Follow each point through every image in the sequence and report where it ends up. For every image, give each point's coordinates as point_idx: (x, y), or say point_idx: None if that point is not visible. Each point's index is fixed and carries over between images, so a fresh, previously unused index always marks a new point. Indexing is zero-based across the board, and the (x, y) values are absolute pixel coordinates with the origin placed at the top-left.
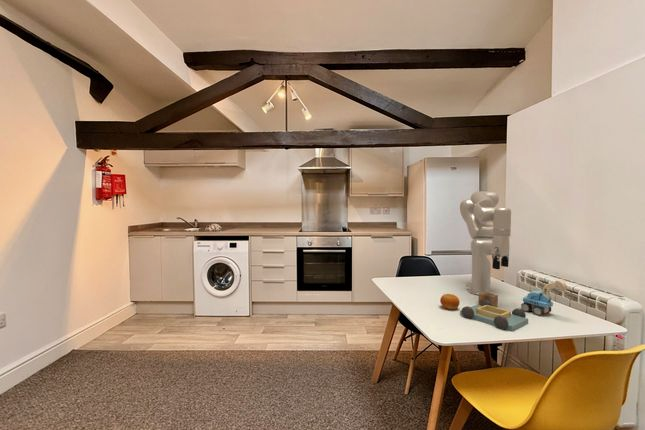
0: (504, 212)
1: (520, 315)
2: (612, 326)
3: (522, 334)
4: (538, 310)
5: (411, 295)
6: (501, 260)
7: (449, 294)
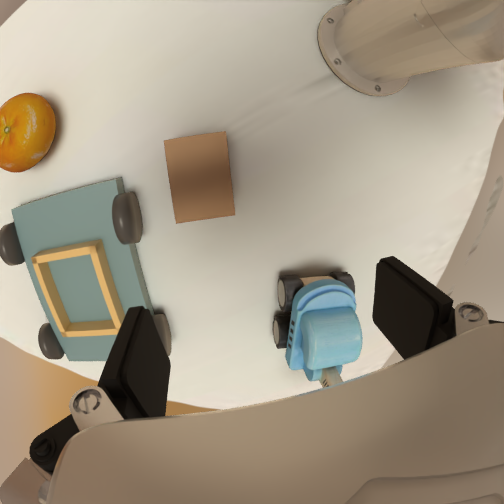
0: None
1: None
2: None
3: (85, 369)
4: (276, 337)
5: None
6: (416, 296)
7: (9, 121)
